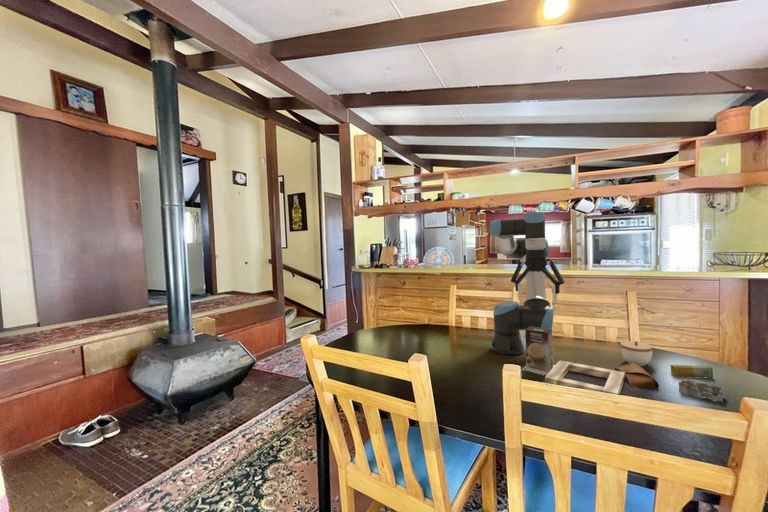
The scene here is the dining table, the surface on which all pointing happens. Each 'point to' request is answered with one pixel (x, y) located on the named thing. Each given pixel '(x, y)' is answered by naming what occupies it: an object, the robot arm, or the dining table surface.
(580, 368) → the board
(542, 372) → the spiral notepad
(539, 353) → the coffee box
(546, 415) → the dining table surface
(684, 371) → the medication box
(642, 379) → the sunglasses case
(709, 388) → the grey flat lump
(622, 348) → the lidded jar
